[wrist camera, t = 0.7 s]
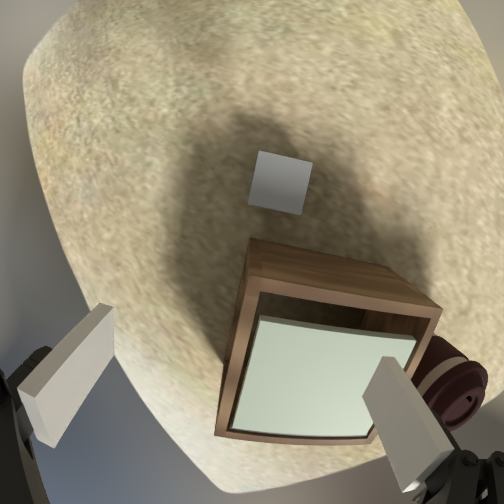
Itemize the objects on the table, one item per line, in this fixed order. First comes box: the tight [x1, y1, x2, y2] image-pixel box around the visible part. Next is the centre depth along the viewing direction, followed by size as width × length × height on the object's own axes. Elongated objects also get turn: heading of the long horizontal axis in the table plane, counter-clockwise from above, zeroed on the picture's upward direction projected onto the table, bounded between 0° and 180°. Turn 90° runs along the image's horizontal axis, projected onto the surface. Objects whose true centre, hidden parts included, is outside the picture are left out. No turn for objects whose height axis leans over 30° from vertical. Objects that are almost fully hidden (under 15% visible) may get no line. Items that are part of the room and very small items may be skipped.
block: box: [248, 151, 313, 216], centre depth 29 cm, size 5×5×5 cm
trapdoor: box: [230, 315, 416, 437], centre depth 24 cm, size 12×14×1 cm
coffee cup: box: [411, 333, 488, 431], centre depth 29 cm, size 10×10×15 cm
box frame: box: [214, 238, 443, 445], centre depth 29 cm, size 17×17×12 cm
